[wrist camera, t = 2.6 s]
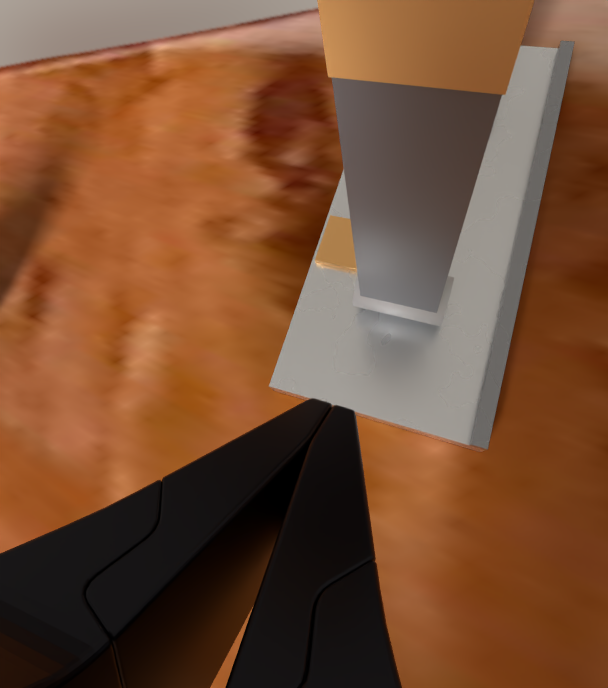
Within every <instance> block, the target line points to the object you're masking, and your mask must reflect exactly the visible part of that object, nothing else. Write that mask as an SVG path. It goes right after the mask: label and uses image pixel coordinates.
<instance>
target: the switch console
mask: <svg viewBox="0 0 608 688" xmlns="http://www.w3.org/2000/svg"><path fill="white" fill-rule="evenodd" d="M573 47H574V42H572V41H561V42H560V45H559V47H558V48H546V47H533V46H520V49H519V52H518V56H517V59H516V62H515V65H514V69H513V72H512V75H511V78H510V82H509V85H508V88H507V91H506V95H502V97H501V100H500V103H499V107H498V110H497V113H496V117H495V120H494V123H493V127H492V130H491V133H490V137H489V140H488V143H487V147H486V150H485V153H484V157H483V160H482V163H481V167H480V170H479V174H478V177H477V180H476V184H475V187H474V190H473V194H472V197H471V200H470V204H469V207H468V210H467V214H466V217H465V220H464V224H463V227H462V230H461V234H460V237H459V240H458V244H457V247H456V250H455V254H454V257H453V260H452V264H451V267H450V270H449V274H448V276H451V277H454V281H453V286H452V290H451V294H450V298H449V301H448V305H447V309H446V312H445V316H444V319H443V322H442V325H441V327H440V326H436V325H432V324H427V323H423V322H419V321H415V320H410V319H406V318H402V317H397V316H393V315H389V314H385V313H380V312H376V311H372V310H368V309H363V308H359V307H355V306H353V292H354V286H355V282H356V278H357V266H356V258H355V251H354V243H353V235H352V228H351V220H350V212H349V205H348V197H347V190H346V182H345V174H344V170H343V173H342V176H341V179H340V182H339V185H338V188H337V190H336V193H335V196H334V199H333V202H332V205H331V208H330V211H329V214H328V217H327V219H326V222H325V225H324V228H323V231H322V234H321V237H320V240H319V243H318V246H317V248H316V251H315V254H314V257H313V260H312V263H311V266H310V269H309V272H308V275H307V277H306V280H305V283H304V286H303V289H302V292H301V295H300V298H299V301H298V304H297V306H296V309H295V312H294V315H293V318H292V321H291V324H290V327H289V330H288V333H287V335H286V338H285V341H284V344H283V347H282V350H281V353H280V356H279V359H278V362H277V364H276V367H275V370H274V373H273V376H272V379H271V382H270V385H269V387H271V388H272V389H273V390H274V391H277V392H280V393H283V394H287V395H290V396H294V397H297V398H300V399H304V400H308V399H311V398H315V399H319V400H322V401H326V402H329V403H331V404H332V407H333V406H334V405H339V406H343V407H346V408H349V409H352V410H354V411H355V414H356V415H357V416H361V417H364V418H367V419H371V420H374V421H378V422H381V423H384V424H388V425H391V426H394V427H398V428H401V429H404V430H408V431H411V432H414V433H418V434H421V435H425V436H428V437H431V438H435V439H438V440H441V441H445V442H448V443H451V444H455V445H458V446H462V447H465V448H468V449H472V450H475V451H478V452H482V451H485V450H487V449H488V446H489V441H490V436H491V432H492V427H493V422H494V417H495V413H496V408H497V403H498V399H499V394H500V389H501V385H502V380H503V375H504V370H505V366H506V361H507V356H508V352H509V347H510V342H511V338H512V333H513V328H514V324H515V319H516V314H517V309H518V305H519V300H520V295H521V291H522V286H523V281H524V277H525V272H526V267H527V263H528V258H529V253H530V248H531V244H532V239H533V234H534V230H535V225H536V220H537V216H538V211H539V206H540V202H541V197H542V192H543V187H544V183H545V178H546V173H547V169H548V164H549V159H550V155H551V150H552V145H553V141H554V136H555V131H556V126H557V122H558V117H559V112H560V108H561V103H562V98H563V94H564V89H565V84H566V79H567V75H568V70H569V65H570V61H571V56H572V51H573Z"/></svg>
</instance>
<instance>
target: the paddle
mask: <svg viewBox="0 0 608 688" xmlns="http://www.w3.org/2000/svg"><path fill="white" fill-rule="evenodd" d="M317 1H318V8H319V15H320V22H321V29H322V37H323V44H324V51H325V58H326V65H327V72H328V77H332V83H333V90H334V98H335V105H336V113H337V121H338V128H339V136H340V144H341V151H342V159H343V167H344V174H345V182H346V190H347V197H348V205H349V212H350V220H351V228H352V235H353V243H354V251H355V258H356V266H357V278H356V282H355V286H354V292H353V306H355V307H359V308H363V309H368V310H372V311H376V312H380V313H385V314H389V315H393V316H397V317H402V318H406V319H410V320H415V321H419V322H423V323H427V324H432V325H436V326H440V327H441V325H442V322H443V319H444V316H445V312H446V309H447V305H448V301H449V298H450V294H451V290H452V286H453V281H454V277H451V276H448V274H449V270H450V267H451V264H452V260H453V257H454V254H455V250H456V247H457V244H458V240H459V237H460V234H461V230H462V227H463V224H464V220H465V217H466V214H467V210H468V207H469V204H470V200H471V197H472V194H473V190H474V187H475V184H476V180H477V177H478V174H479V170H480V167H481V163H482V160H483V157H484V153H485V150H486V147H487V143H488V140H489V137H490V133H491V130H492V127H493V123H494V120H495V117H496V113H497V110H498V107H499V103H500V100H501V97H502V95H506V91H507V88H508V85H509V82H510V78H511V75H512V72H513V69H514V65H515V62H516V59H517V56H518V52H519V49H520V46H521V43H522V39H523V36H524V33H525V30H526V26H527V23H528V20H529V17H530V13H531V10H532V7H533V4H534V0H317Z"/></svg>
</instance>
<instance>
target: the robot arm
mask: <svg viewBox="0 0 608 688" xmlns="http://www.w3.org/2000/svg"><path fill="white" fill-rule="evenodd" d="M375 559H376V558H375V551H374V543H373V536H372V529H371V522H370V515H369V507H368V500H367V493H366V486H365V478H364V471H363V464H362V457H361V450H360V442H359V435H358V428H357V421H356V414H355V411H354V410H352V409H349V408H346V407H343V406H339V405H334V406H333V407H332V404H331V403H329V402H326V401H322V400H319V399H315V398H311V399H308V400H306V401H305V402H303V403H301V404H299V405H297V406H295V407H293V408H292V409H290V410H288V411H286V412H284V413H282V414H280V415H279V416H277V417H275V418H273V419H271V420H269V421H267V422H266V423H264V424H262V425H260V426H258V427H256V428H254V429H253V430H251V431H249V432H247V433H245V434H243V435H241V436H239V437H238V438H236V439H234V440H232V441H230V442H228V443H226V444H225V445H223V446H221V447H219V448H217V449H215V450H213V451H212V452H210V453H208V454H206V455H204V456H202V457H200V458H199V459H197V460H195V461H193V462H191V463H189V464H187V465H186V466H184V467H182V468H180V469H178V470H176V471H174V472H173V473H171V474H169V475H167V476H165V477H163V479H162V481H161V480H157V481H155V482H154V483H152V484H150V485H148V486H146V487H144V488H142V489H141V490H139V491H137V492H135V493H133V494H131V495H129V496H127V497H125V498H123V499H121V500H119V501H117V502H115V503H113V504H111V505H109V506H107V507H105V508H103V509H101V510H99V511H96V512H94V513H92V514H90V515H88V516H85V517H83V518H81V519H79V520H77V521H74V522H72V523H70V524H68V525H65V526H63V527H61V528H58V529H56V530H54V531H52V532H49V533H47V534H45V535H42V536H40V537H38V538H35V539H33V540H31V541H28V542H26V543H24V544H21V545H19V546H17V547H14V548H12V549H10V550H7V551H5V552H3V553H0V688H210V687H211V685H212V683H213V681H214V679H215V677H216V675H217V673H218V671H219V670H220V668H221V666H222V664H223V662H224V660H225V658H226V656H227V654H228V653H229V651H230V649H231V647H232V645H233V643H234V641H235V639H236V637H237V635H238V634H239V632H240V630H241V628H242V626H243V624H244V622H245V620H246V618H247V616H248V615H249V613H250V611H251V609H252V607H253V609H252V612H251V615H250V618H249V621H248V624H247V626H246V629H245V632H244V635H243V638H242V641H241V644H240V647H239V650H238V653H237V656H236V659H235V662H234V664H233V667H232V670H231V673H230V676H229V679H228V682H227V685H226V688H402V686H401V682H400V678H399V675H398V671H397V667H396V663H395V659H394V654H393V650H392V646H391V642H390V637H389V633H388V629H387V625H386V619H385V614H384V608H383V602H382V596H381V591H380V584H379V577H378V570H377V564H376V562H375ZM253 605H254V606H253Z"/></svg>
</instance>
